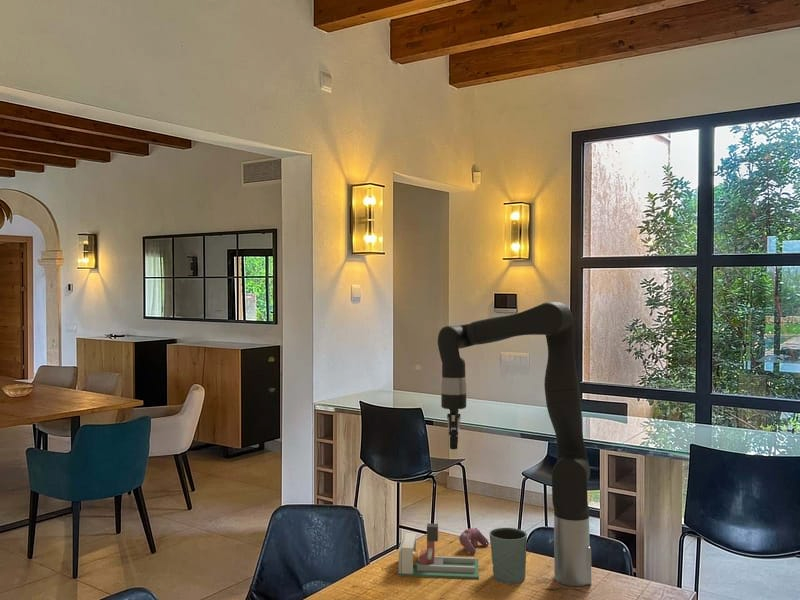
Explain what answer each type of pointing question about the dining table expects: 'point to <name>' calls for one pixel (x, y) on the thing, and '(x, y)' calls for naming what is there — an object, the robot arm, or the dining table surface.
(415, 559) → the ball
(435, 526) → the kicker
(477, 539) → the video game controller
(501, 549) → the green cup
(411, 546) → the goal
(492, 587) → the dining table surface
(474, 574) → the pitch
